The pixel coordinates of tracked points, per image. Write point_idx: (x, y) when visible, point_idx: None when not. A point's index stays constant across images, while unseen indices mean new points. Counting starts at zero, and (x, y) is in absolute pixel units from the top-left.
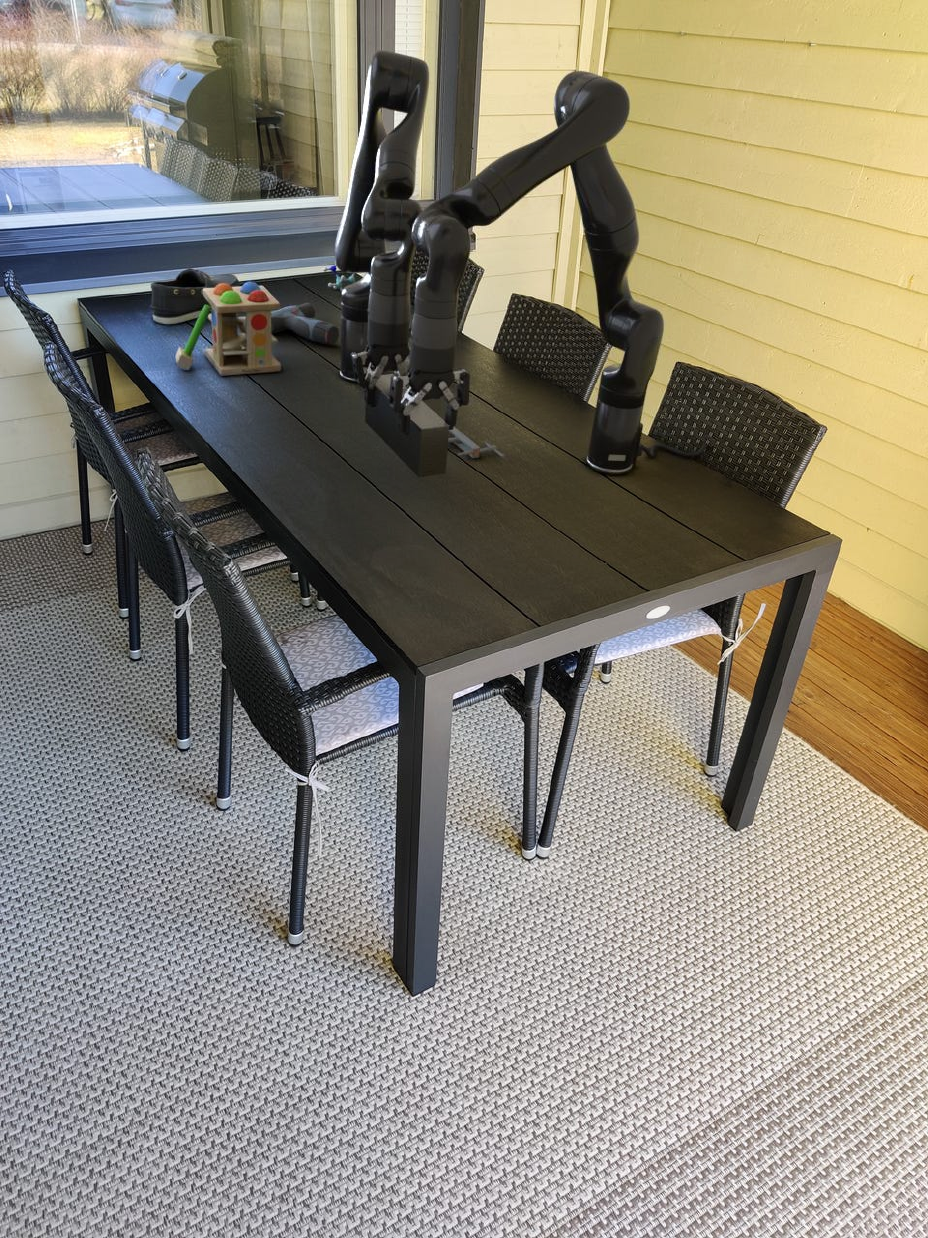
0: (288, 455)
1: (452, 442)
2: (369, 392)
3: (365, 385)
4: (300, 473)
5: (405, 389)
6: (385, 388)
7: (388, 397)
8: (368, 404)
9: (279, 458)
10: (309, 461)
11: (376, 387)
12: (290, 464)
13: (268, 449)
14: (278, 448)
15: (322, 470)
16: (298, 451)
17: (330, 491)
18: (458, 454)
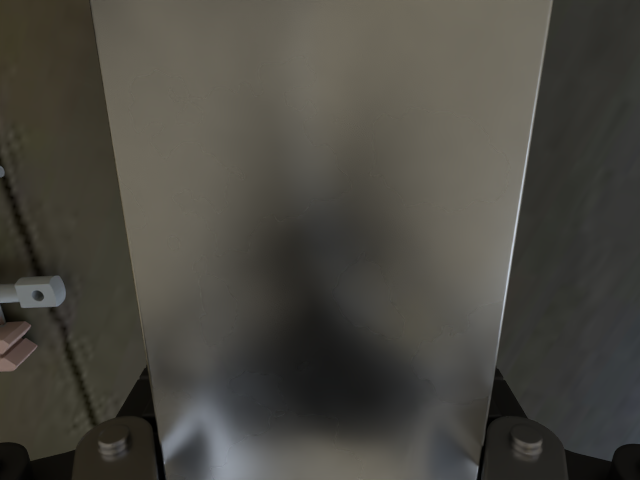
0: (589, 362)
1: (1, 285)
2: (502, 408)
3: (585, 466)
4: (627, 233)
5: (182, 260)
6: (423, 343)
7: (543, 51)
8: None
9: (627, 351)
10: (550, 307)
11: (484, 410)
12: (619, 304)
13: (622, 412)
14: (590, 410)
15: (545, 233)
16: (544, 378)
17: (612, 59)
18: (1, 172)
